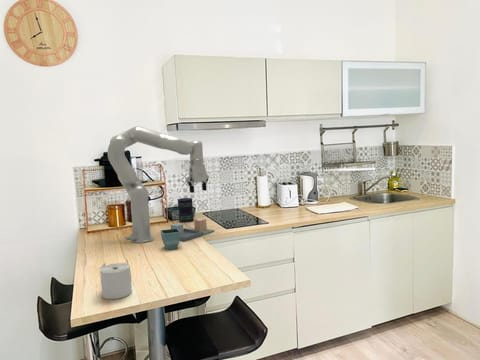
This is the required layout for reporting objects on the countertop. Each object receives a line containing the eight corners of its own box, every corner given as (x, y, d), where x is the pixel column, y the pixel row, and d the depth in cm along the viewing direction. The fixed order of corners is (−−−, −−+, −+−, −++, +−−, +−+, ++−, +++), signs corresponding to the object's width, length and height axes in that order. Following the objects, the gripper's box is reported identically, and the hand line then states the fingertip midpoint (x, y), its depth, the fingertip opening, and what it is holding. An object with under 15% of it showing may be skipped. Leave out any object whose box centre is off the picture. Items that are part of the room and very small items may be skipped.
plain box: (176, 237, 217) (176, 225, 217) (171, 235, 221) (170, 224, 220) (183, 235, 221) (183, 224, 220) (178, 233, 224) (177, 223, 224)
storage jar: (190, 222, 254) (189, 200, 252) (176, 222, 256) (175, 200, 254) (195, 219, 264) (194, 197, 262) (182, 219, 266) (180, 198, 264)
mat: (204, 234, 222) (204, 233, 222) (188, 231, 231) (188, 230, 231) (214, 231, 228) (214, 230, 228) (198, 228, 237) (198, 227, 237)
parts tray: (184, 241, 210) (183, 237, 209) (165, 237, 220) (165, 233, 220) (203, 235, 220) (202, 231, 220) (184, 232, 231) (184, 228, 230)
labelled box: (200, 231, 226) (199, 220, 225) (194, 230, 229) (194, 219, 229) (206, 230, 230) (206, 219, 229) (201, 228, 233) (200, 218, 232)
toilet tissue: (124, 300, 138) (121, 273, 137) (93, 299, 140) (90, 272, 139) (137, 288, 148) (134, 263, 147) (108, 287, 150) (105, 262, 149)
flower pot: (178, 244, 205) (176, 227, 204) (181, 248, 197) (180, 231, 196) (161, 246, 202) (160, 230, 201) (164, 251, 194) (163, 234, 193)
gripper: (189, 163, 216) (191, 194, 218) (211, 161, 228) (213, 189, 231) (181, 163, 221) (182, 193, 223) (203, 161, 233) (204, 189, 236)
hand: (198, 191), depth 227 cm, fingers open, 9 cm apart
